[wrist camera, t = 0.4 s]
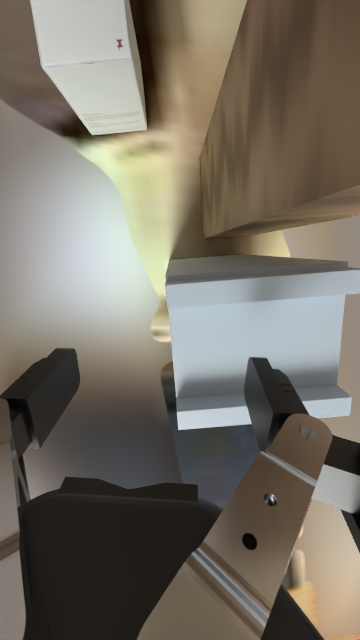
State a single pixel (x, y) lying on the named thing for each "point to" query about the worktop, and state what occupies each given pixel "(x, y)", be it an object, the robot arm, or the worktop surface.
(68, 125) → the worktop surface
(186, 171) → the worktop surface
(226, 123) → the walnut block
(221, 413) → the holder
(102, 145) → the worktop surface
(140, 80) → the supplement box
